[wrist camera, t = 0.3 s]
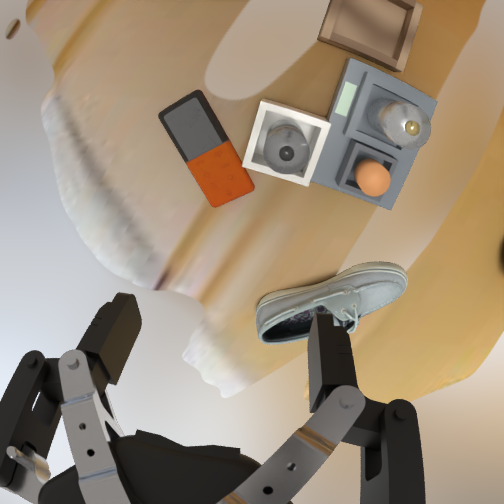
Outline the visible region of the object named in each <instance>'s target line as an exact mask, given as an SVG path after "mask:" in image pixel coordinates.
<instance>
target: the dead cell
mask: <svg viewBox="0 0 504 504" xmlns="http://www.w3.org/2000/svg"><path fill="white" fill-rule="evenodd" d="M263 155H264V159H265V162H266V163H267V165H268V166H269V167H270V168H271V169H272V170H274V171H275V172H277V173H280V174H293V173H296V172H298V171H300V170H301V169H303V168H304V167H305V165H306V164H307V162H308V160H309V156H310V149H309V145H308V143H307V141H306V138H305V136H304V134H303V131H302V129H301V127H300V126H299V125H298V124H297V123H295V122H294V121H291V120H287V119H282V120H278V121H276V122H274V123H273V124H272V125H271V126H270V127H269V129H268V131H267V136H266V140H265V144H264V149H263Z"/></svg>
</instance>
